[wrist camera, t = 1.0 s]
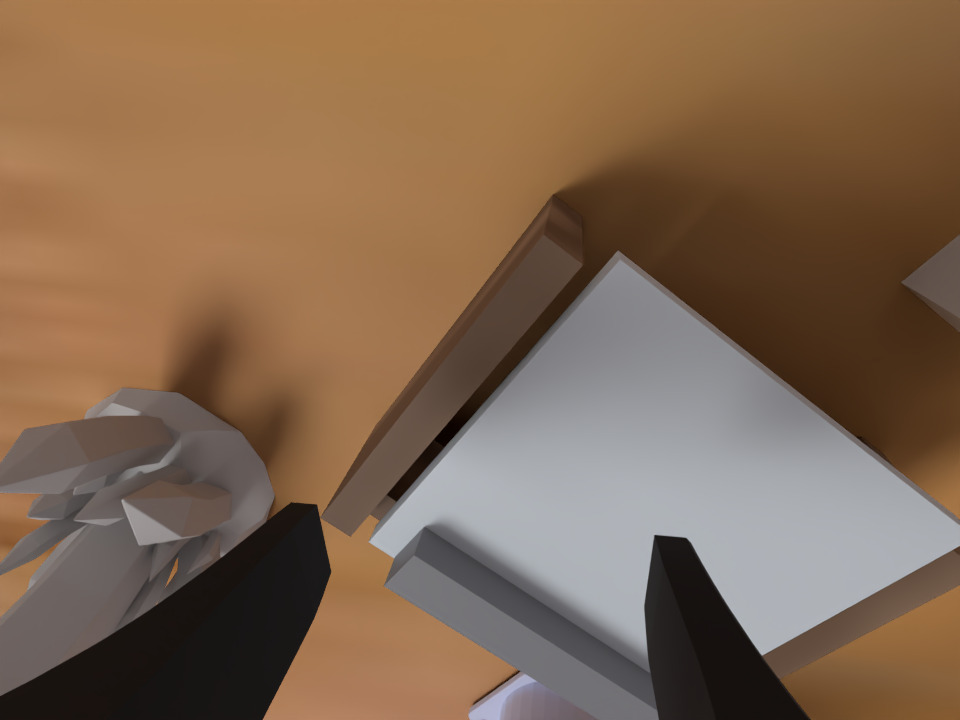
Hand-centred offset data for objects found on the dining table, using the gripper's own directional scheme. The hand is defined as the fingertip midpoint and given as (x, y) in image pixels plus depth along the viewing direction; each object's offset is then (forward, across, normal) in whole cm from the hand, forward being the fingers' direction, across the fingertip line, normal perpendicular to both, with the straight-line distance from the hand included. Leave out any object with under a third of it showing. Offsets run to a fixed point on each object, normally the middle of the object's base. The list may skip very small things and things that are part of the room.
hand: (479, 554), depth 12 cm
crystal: (+10, +17, +7) cm, 21 cm away
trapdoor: (+5, -4, +3) cm, 7 cm away
